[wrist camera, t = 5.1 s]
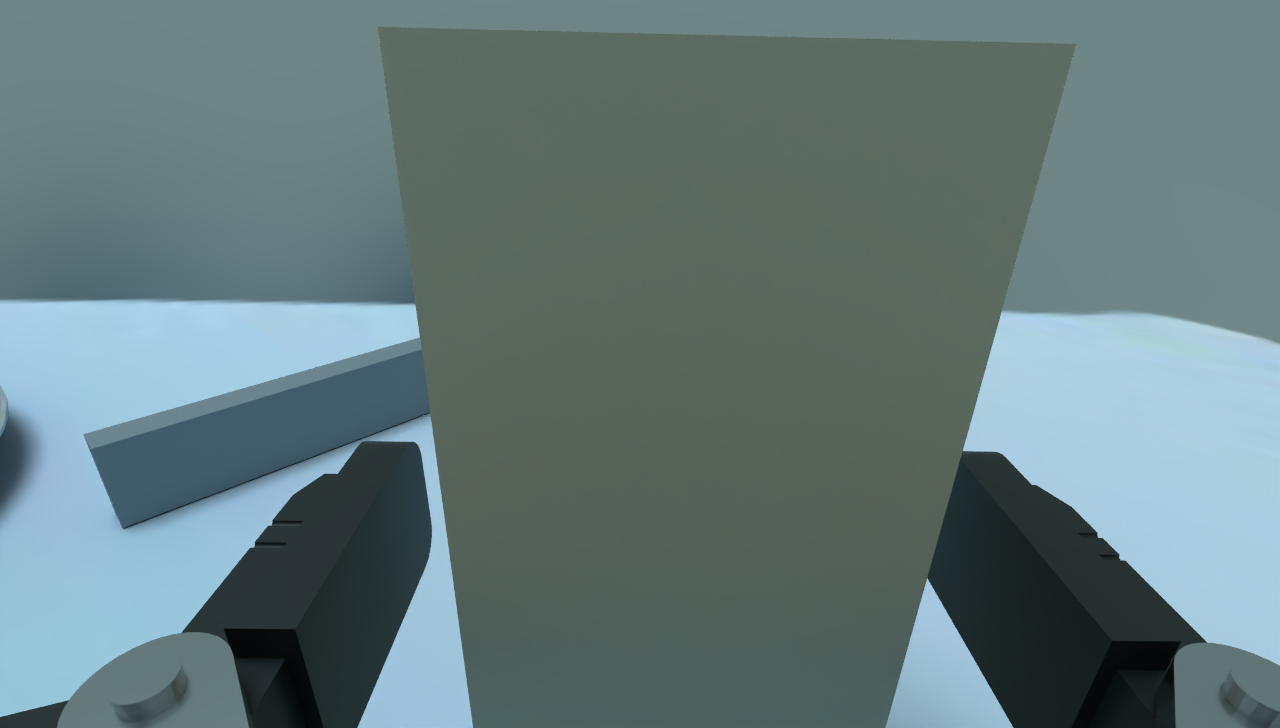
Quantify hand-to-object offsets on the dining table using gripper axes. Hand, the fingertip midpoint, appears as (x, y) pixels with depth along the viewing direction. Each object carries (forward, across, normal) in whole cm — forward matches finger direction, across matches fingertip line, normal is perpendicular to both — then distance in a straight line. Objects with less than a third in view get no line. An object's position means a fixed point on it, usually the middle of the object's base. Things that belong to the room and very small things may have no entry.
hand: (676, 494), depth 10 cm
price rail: (+17, +9, +8) cm, 21 cm away
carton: (0, 0, +8) cm, 8 cm away
